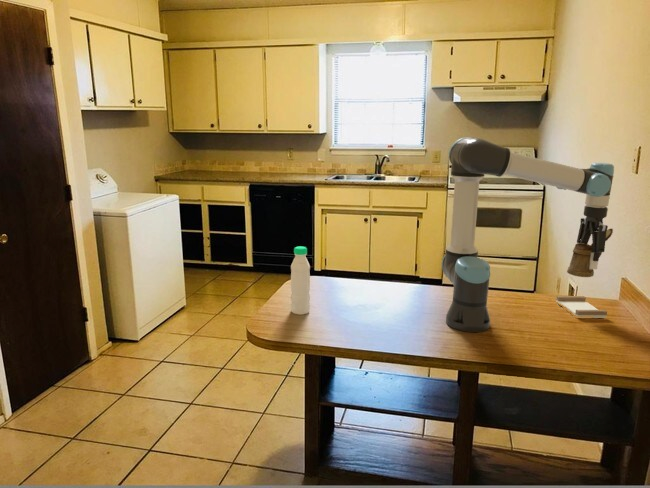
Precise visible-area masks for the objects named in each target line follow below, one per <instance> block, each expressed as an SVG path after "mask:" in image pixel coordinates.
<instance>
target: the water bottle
mask: <svg viewBox="0 0 650 488" xmlns="http://www.w3.org/2000/svg"><path fill="white" fill-rule="evenodd" d="M293 253H294V258H293V260H292V263H291V265H290V272H291V273H290V289H291V290H290V291H291V294H290V302H291V303H290V312H291V313H293V314H294V315H306V314H309V312H310V309H311V308H310V307H311V305H310V299H311V296H310V290H311V289H310V288H311V274H310V270H311V265H310V263H309V261H308V258H307V257H306V256H307V255H308V248H307V246H301V245H300V246H296V247H295V246H294V248H293Z"/></svg>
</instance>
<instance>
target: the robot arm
mask: <svg viewBox="0 0 650 488" xmlns="http://www.w3.org/2000/svg"><path fill="white" fill-rule="evenodd" d="M448 151H449V152H448V159H449V162H450V164H451V169H450V176H451V177H452V179H453V180H454V187H453V188H454V189H453V200H452V204H453V205H452V216H451V230H450V243H449V244H448V245H447V246H446V248H445V254H444V256H443V258H442V260H441V269H442V272H443V274H444V276H445V277H446V278H447V279H448V280H449V282H451V283H452V285H453V291H452V292H453V293H452V301H451V304H450V306H449V308H448V310H447V312H446V314H445V323H446V325H448V326H449V327H451V328H452V329H455V330H458V331H461V332H466V333H480V332H486V331H487V330H489V329H490V326H491V325H490V324H491V318H490V314H489V311H488V307H487V304H488V294H489V288H490V287H489V286H490V277H491V266H490V263H488V261H487V260H485V259H483V258H480V257H478V256H479V249H478V248H477V247H476V246H475V242H476V241H475V239H476V230H477V229H476V226H477V217H478V204H479V203H478V202H479V192H480V182H481V180H483V178H485V175H489V176H494V177H499V178H501V177H504V176H508V177H512V178H517V179H522V180H525V181H530V182H535V183H538V184H543V185H548V186H550V187H551V186H552V187H556V188H557V189H558V190H564V191H566V190H568V191H571V192H577V193H579V194H584V195H585V194H586V195H585V202H584V203H585V205H584V209H583V215H584V217H585V218H584V217H581V218H580V226H579V228H578V229H579V230H578V235H577V239H576V244H577V243H583V244H588V245H589V242H590V238H592V239H591V241H592V243H593V251H591V256H590V265H589V269H593V270H597V269H598V264H599V260H600V259H599V258H600V257H599V254H600V253H601V252H602V253H605V248H606V247H605V246H606V241H605V240H606V231H607V230H608V227H609V226H608V225H606V224H604V219H605V218H607V216H608V211H609V208H608V206H609V202H610V198H611V197H610V196H611V191H612V184H613V178H614V173H615V166H614V165H613V164H612V163H606V162H592V163H591V164H590V165H589V166H590V167H589V168H578V167H574V166H570V165H565V164H562V163H558V162H553V161H551V160H550V161H549V160H545V159H542V158H537V157H533V156H528V155H524V154H519V153H517V152H512V151H511V149H510V148H509V147H505V146H501V145H498V144H496V143H493V142H490V141H489V140H485V139H483V138H477V137H472V136H468V137H465V136H464V137H461V138H460V139H457V140H455V142H453V144H451V146H450V149H449V150H448ZM592 243H591V244H592Z"/></svg>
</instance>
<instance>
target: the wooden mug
mask: <svg viewBox="0 0 650 488" xmlns="http://www.w3.org/2000/svg"><path fill="white" fill-rule="evenodd" d="M613 233H614V229H613V228H609V229H608V228H607V231H606V240H605V242H607V241H608V240H609V239H610V238H611V237H612V235H613ZM591 251H593V243H591V244H589V243H588V244H583V243H577V242H576V243H575V246H574V247H573V249H572V253H573V254H572V256H571V260H570V263H569V266H568V268H567V269H566V273H567V274H569V275H571V276H573V277H574V276H575V277H579V278H592V277H594V275H595V272H594V271H595V269H589V265H590V256H591ZM602 254H603V252H601V253H600V254H599V258H600V257H601V256H602Z"/></svg>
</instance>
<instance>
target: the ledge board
mask: <svg viewBox="0 0 650 488" xmlns="http://www.w3.org/2000/svg"><path fill="white" fill-rule="evenodd" d="M586 298H587V297H586V296H584V295H557V296H556V301H555V303H556V302H558V303H559V304H561V305H563V306H564V307H566V308H567V309H568V310H569V311H571V312H572V313H573V314H574V315H576V316H577V317H593V318H606V319H607V315H608V311H607V310H606V309H598V308H596V307H595V306H594V305H592V304H590V303H589V302H588V301H586V300H587V299H586Z"/></svg>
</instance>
